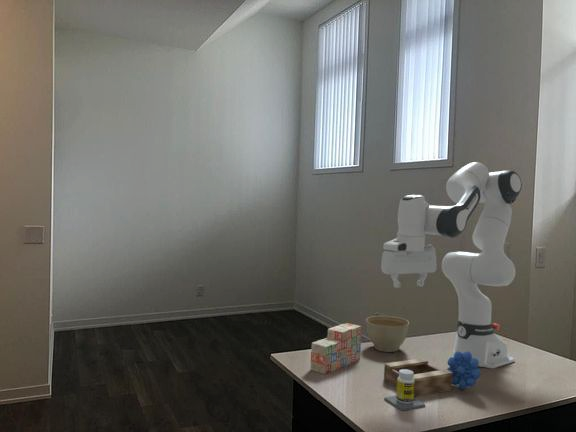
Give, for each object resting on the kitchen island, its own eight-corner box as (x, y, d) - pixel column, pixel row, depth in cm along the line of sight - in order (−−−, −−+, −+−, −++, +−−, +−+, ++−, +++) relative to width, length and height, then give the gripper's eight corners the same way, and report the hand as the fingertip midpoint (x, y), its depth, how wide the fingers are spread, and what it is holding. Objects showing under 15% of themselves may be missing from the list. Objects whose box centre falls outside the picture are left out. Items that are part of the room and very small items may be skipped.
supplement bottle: (403, 405, 136) (405, 375, 136) (392, 398, 140) (394, 369, 140) (417, 402, 138) (418, 373, 138) (405, 396, 143) (407, 367, 142)
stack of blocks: (325, 375, 159) (326, 337, 159) (310, 370, 163) (311, 333, 163) (360, 359, 176) (361, 325, 175) (345, 355, 180) (347, 322, 179)
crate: (421, 374, 163) (421, 358, 162) (451, 389, 150) (452, 372, 150) (383, 379, 156) (384, 363, 156) (412, 396, 144) (413, 379, 143)
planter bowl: (380, 339, 200) (381, 313, 200) (415, 349, 189) (416, 321, 189) (356, 347, 189) (357, 319, 188) (393, 358, 178) (394, 328, 177)
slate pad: (406, 395, 145) (406, 393, 145) (425, 406, 137) (425, 404, 137) (384, 399, 141) (384, 397, 141) (402, 411, 134) (402, 408, 134)
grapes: (487, 392, 149) (489, 353, 148) (474, 397, 145) (476, 357, 144) (454, 380, 158) (456, 343, 158) (441, 384, 154) (443, 346, 154)
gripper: (428, 243, 167) (427, 283, 168) (379, 244, 158) (377, 286, 159) (442, 245, 161) (440, 286, 162) (391, 246, 153) (389, 290, 153)
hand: (408, 286), depth 160 cm, fingers open, 8 cm apart
